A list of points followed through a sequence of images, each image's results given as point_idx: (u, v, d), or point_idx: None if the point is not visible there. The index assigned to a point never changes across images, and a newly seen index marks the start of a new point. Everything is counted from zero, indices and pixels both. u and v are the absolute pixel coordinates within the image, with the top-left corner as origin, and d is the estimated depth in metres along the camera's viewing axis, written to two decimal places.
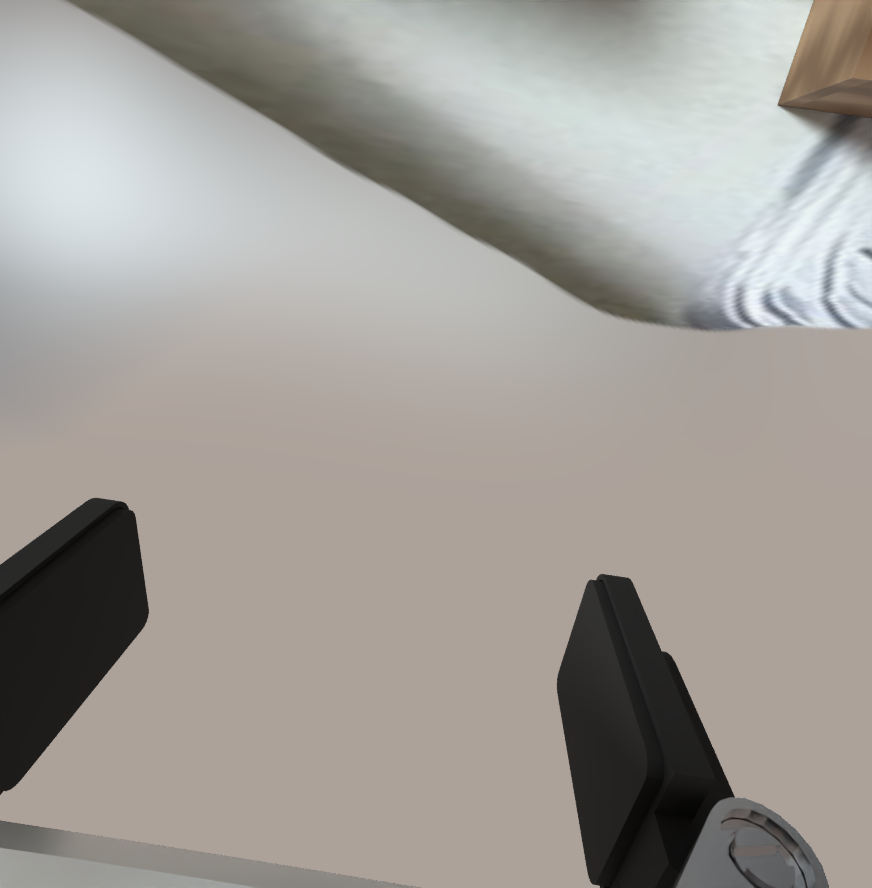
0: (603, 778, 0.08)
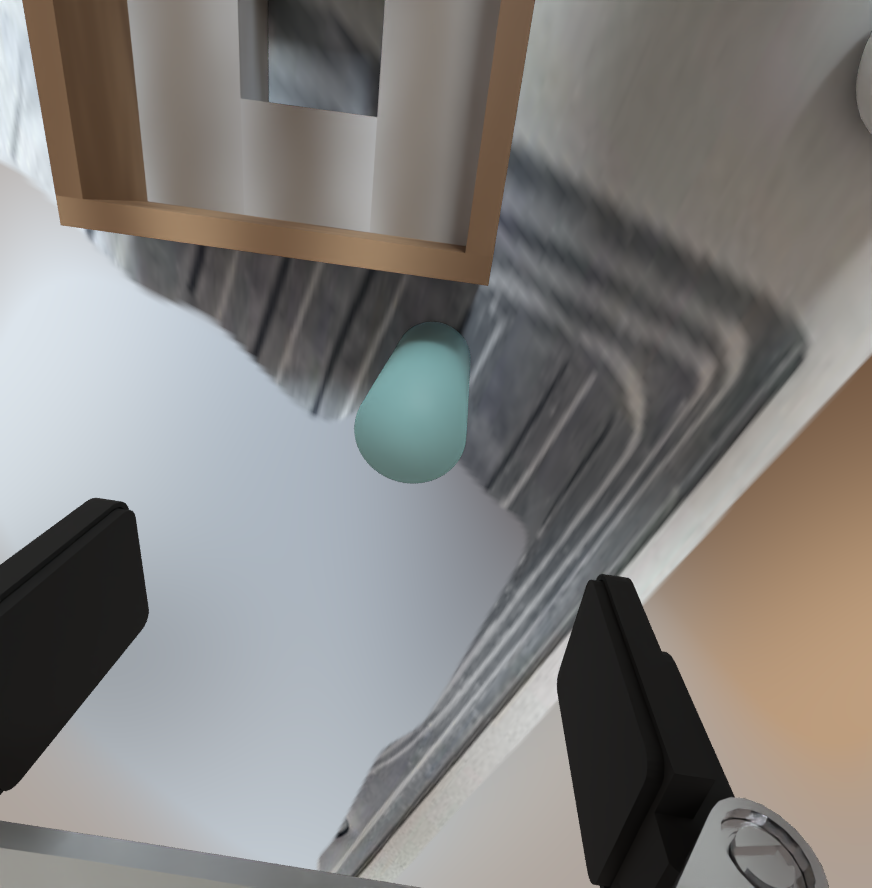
0: (603, 778, 0.08)
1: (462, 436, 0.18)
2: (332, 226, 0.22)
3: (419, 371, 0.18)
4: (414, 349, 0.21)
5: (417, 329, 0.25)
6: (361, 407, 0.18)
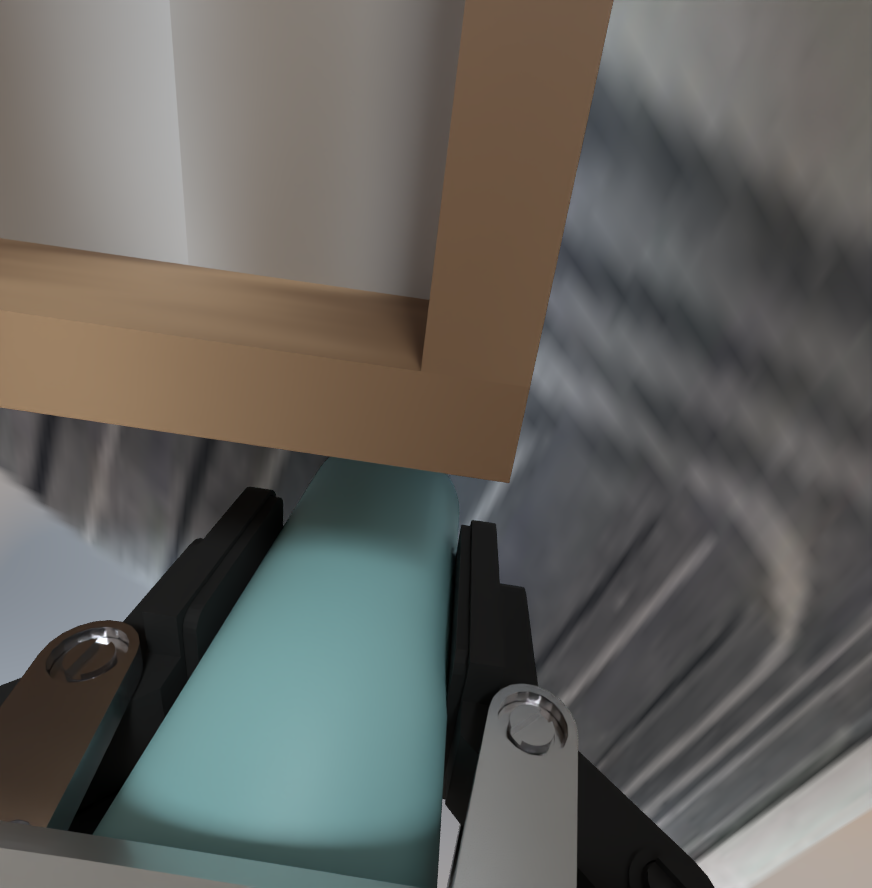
0: None
1: None
2: (89, 249, 0.08)
3: (241, 839, 0.05)
4: (294, 598, 0.08)
5: (342, 468, 0.12)
6: None
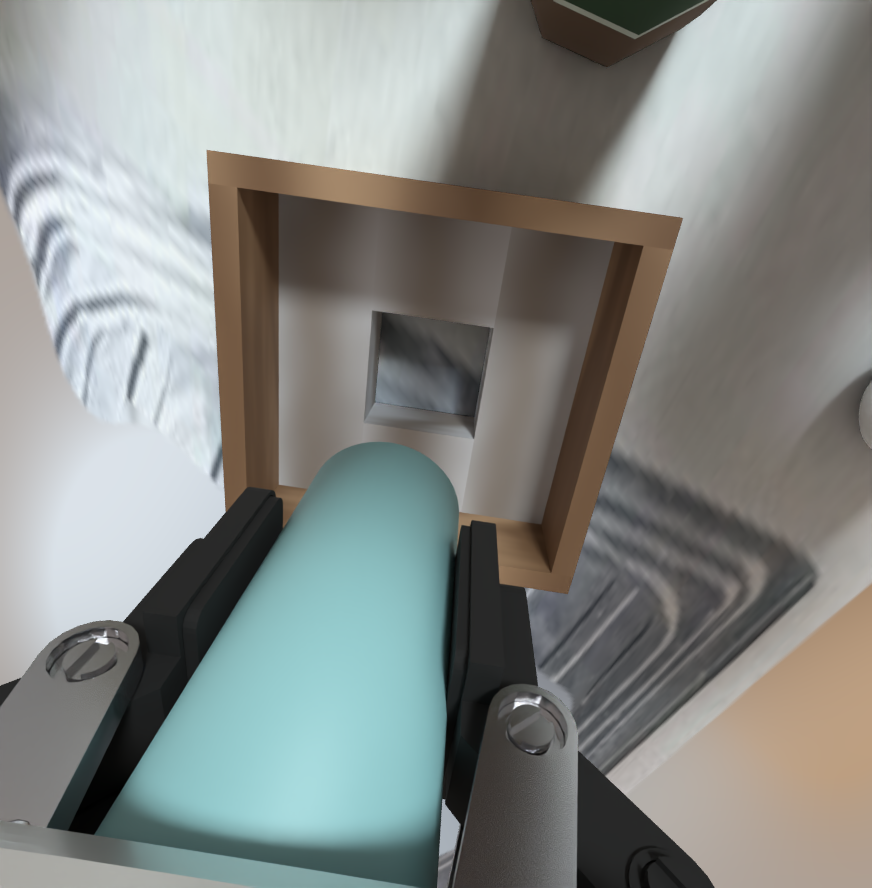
0: None
1: None
2: None
3: (240, 844, 0.05)
4: (294, 600, 0.07)
5: (342, 470, 0.12)
6: None
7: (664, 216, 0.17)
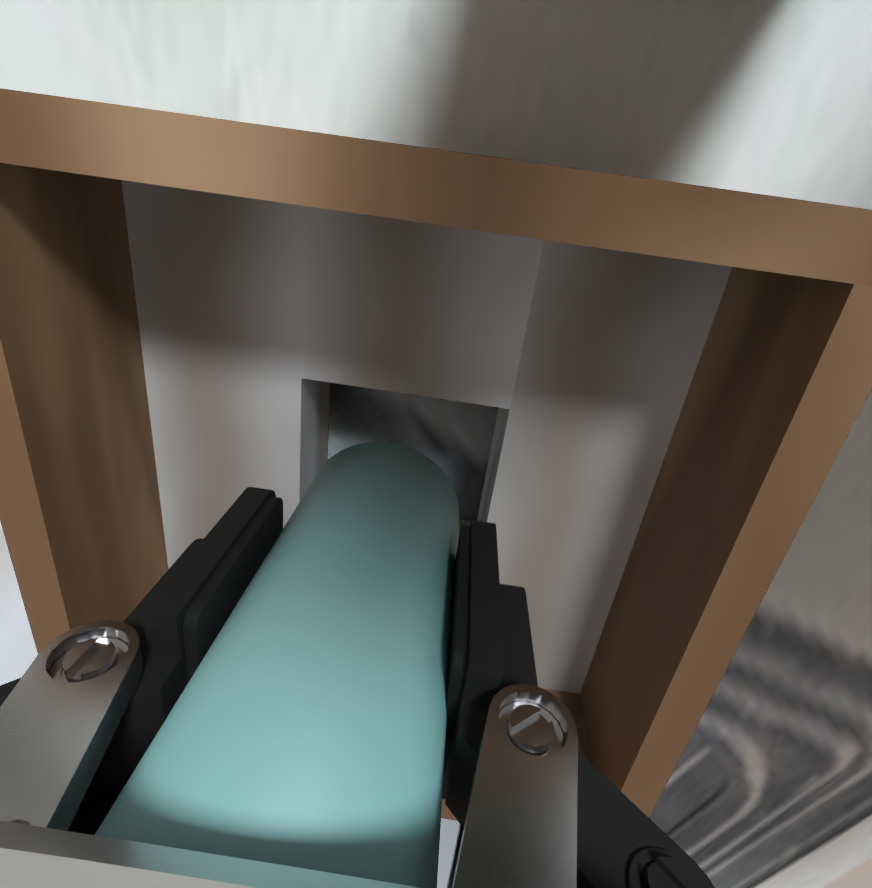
0: None
1: None
2: None
3: (241, 844, 0.05)
4: (294, 601, 0.08)
5: (342, 470, 0.12)
6: None
7: None
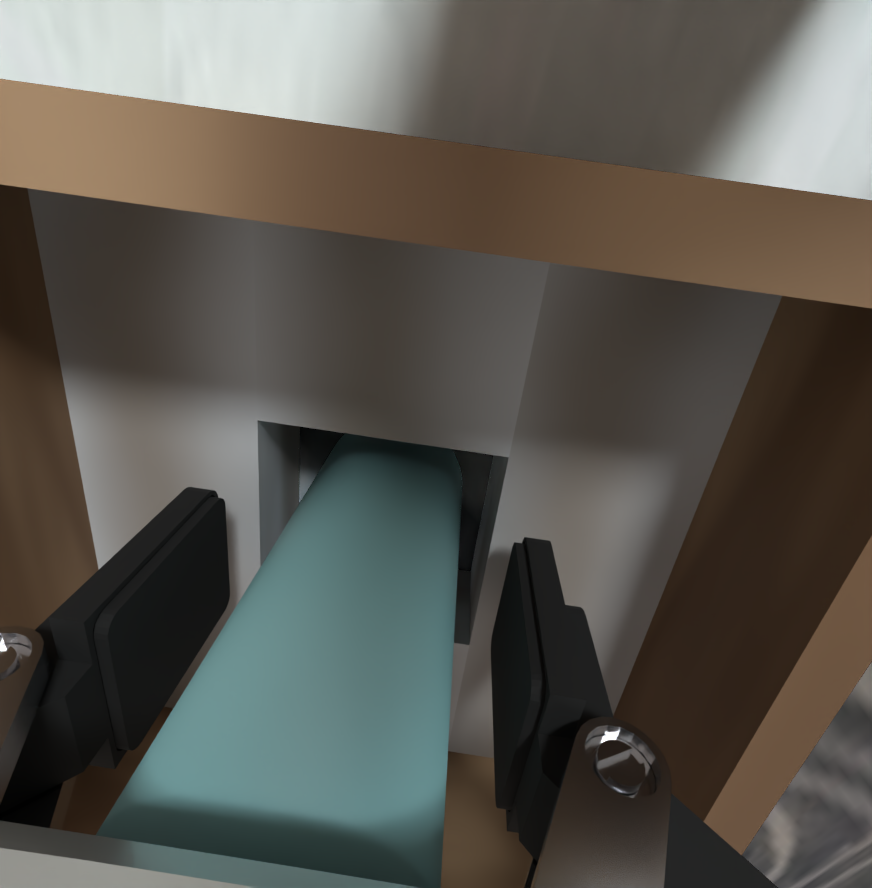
0: (508, 713, 0.09)
1: None
2: None
3: (297, 696, 0.06)
4: (324, 539, 0.09)
5: (358, 441, 0.13)
6: None
7: None
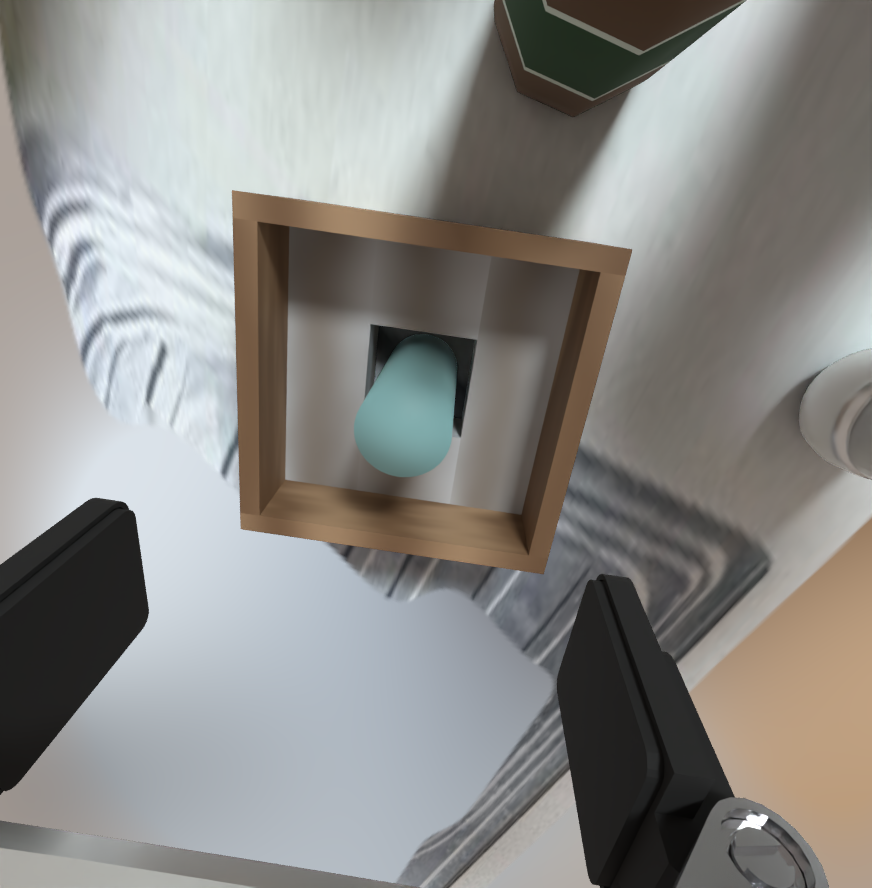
0: (603, 778, 0.08)
1: (448, 435, 0.21)
2: (422, 499, 0.30)
3: (411, 378, 0.21)
4: (406, 359, 0.24)
5: (409, 340, 0.28)
6: (359, 409, 0.20)
7: (617, 248, 0.20)
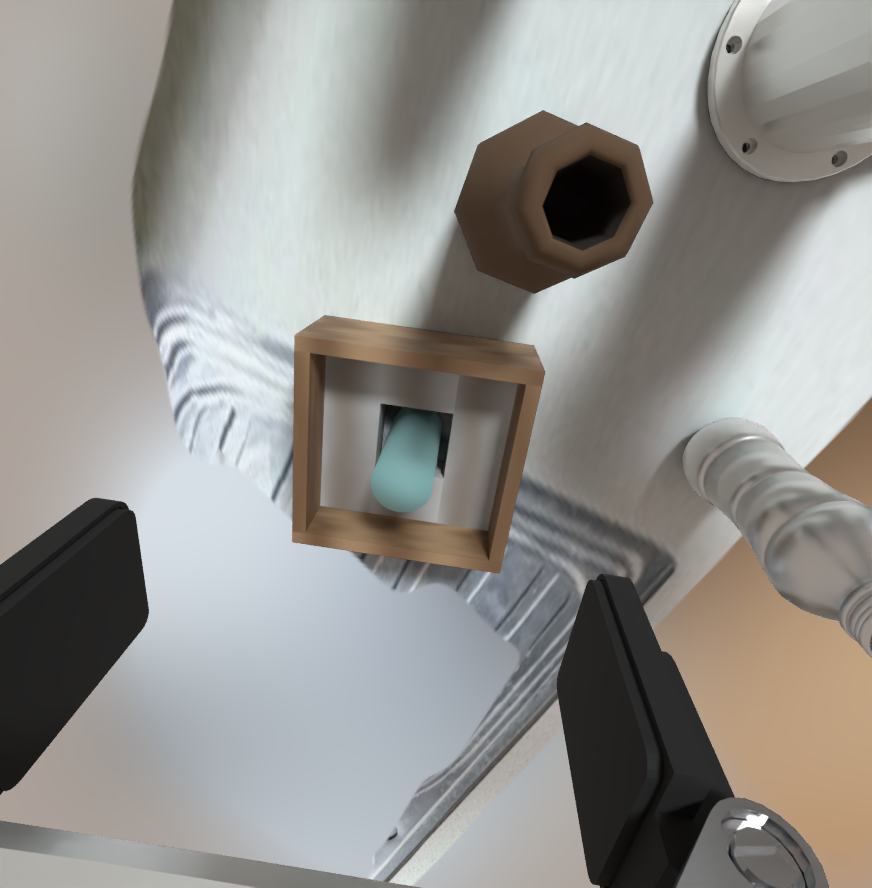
0: (603, 778, 0.08)
1: (430, 487, 0.33)
2: (417, 520, 0.42)
3: (407, 450, 0.33)
4: (404, 431, 0.36)
5: (407, 411, 0.40)
6: (374, 471, 0.32)
7: (535, 370, 0.32)
